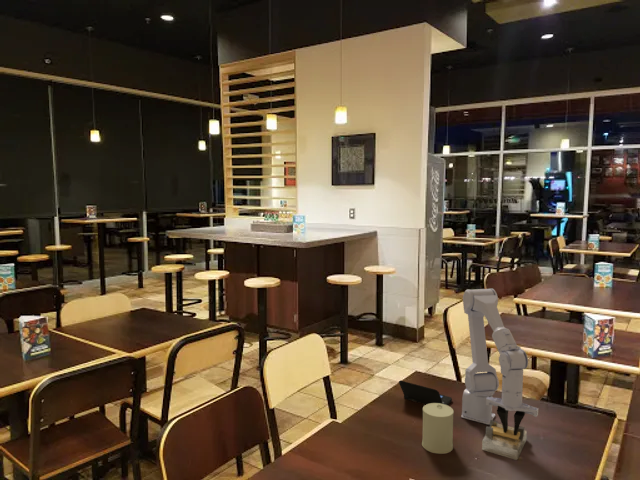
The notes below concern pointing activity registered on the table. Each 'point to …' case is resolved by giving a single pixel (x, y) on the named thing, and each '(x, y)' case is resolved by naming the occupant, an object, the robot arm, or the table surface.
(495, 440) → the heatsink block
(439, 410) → the can
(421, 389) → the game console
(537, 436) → the table surface
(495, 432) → the golden yellow flat bar
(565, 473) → the table surface
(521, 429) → the lug
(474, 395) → the robot arm
